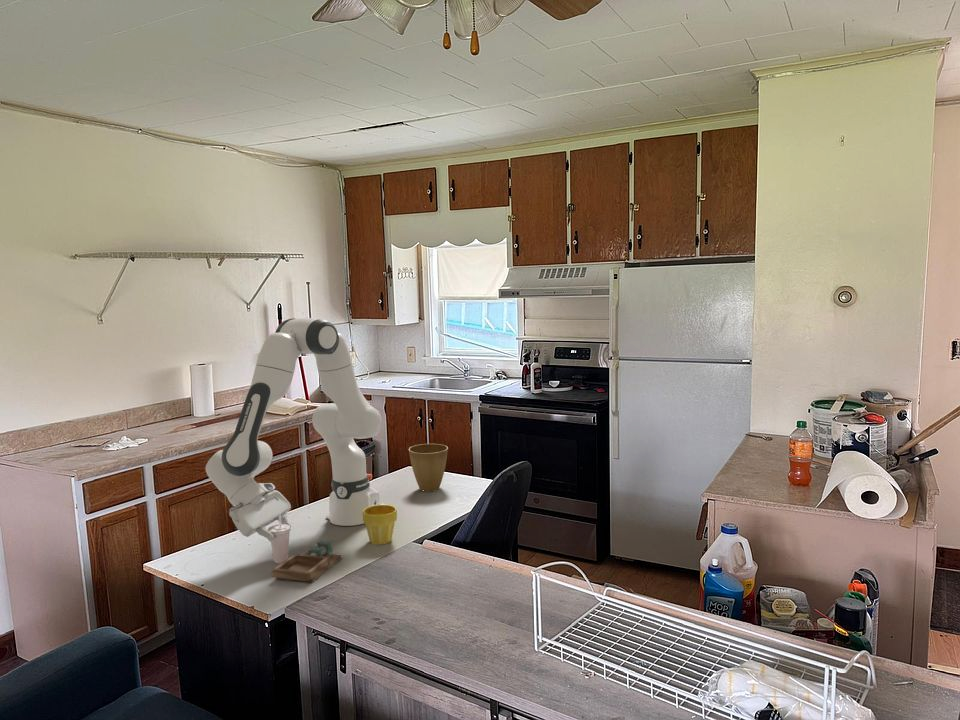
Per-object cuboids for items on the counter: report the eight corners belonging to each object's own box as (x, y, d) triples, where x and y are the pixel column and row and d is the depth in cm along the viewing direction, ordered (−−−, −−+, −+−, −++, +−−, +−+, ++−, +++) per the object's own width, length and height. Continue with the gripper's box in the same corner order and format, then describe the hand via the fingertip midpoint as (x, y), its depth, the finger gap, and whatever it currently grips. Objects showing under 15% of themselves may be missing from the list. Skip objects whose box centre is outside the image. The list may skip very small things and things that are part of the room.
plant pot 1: (405, 538, 207) (403, 507, 206) (382, 549, 198) (380, 517, 197) (380, 532, 213) (378, 502, 212) (356, 543, 204) (355, 511, 203)
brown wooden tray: (311, 552, 198) (310, 538, 197) (344, 555, 195) (343, 541, 194) (272, 580, 179) (271, 565, 179) (309, 584, 176) (308, 569, 176)
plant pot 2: (405, 494, 251) (403, 452, 250) (416, 483, 266) (414, 443, 264) (444, 495, 249) (442, 453, 247) (453, 483, 263) (451, 443, 261)
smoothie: (286, 565, 189) (282, 517, 188) (265, 564, 190) (261, 516, 189) (296, 556, 195) (293, 509, 194) (276, 555, 197) (273, 509, 195)
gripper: (232, 503, 183) (266, 540, 181) (275, 481, 202) (306, 515, 200) (219, 517, 184) (253, 555, 183) (263, 495, 204) (294, 528, 202)
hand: (281, 534), depth 192 cm, fingers closed on smoothie, 6 cm apart
